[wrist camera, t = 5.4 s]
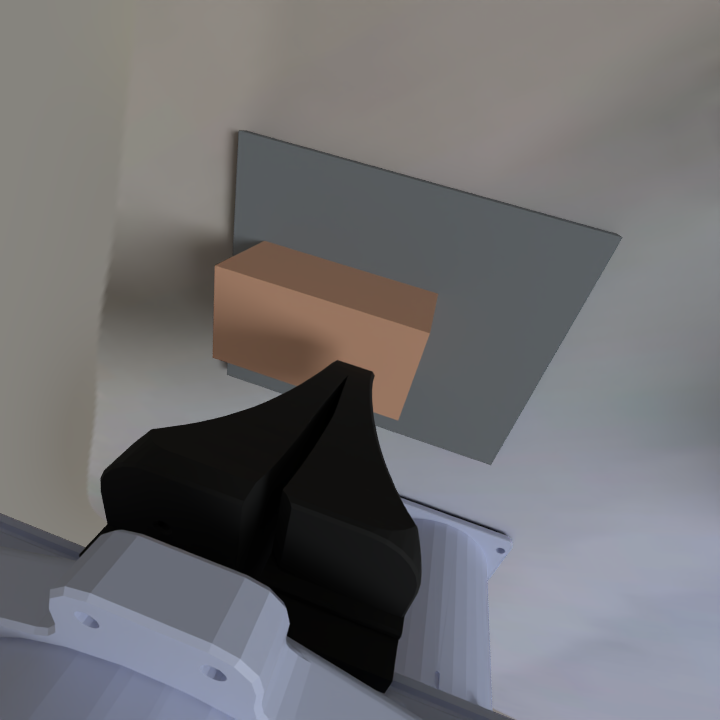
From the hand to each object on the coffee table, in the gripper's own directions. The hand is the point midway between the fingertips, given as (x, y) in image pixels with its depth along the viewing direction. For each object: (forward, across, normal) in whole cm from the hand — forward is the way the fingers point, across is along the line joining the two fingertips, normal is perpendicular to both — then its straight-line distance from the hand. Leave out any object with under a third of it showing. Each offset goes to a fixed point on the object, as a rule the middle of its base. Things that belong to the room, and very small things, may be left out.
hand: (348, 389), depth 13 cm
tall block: (+4, -2, 0) cm, 4 cm away
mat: (+6, 0, 0) cm, 6 cm away
